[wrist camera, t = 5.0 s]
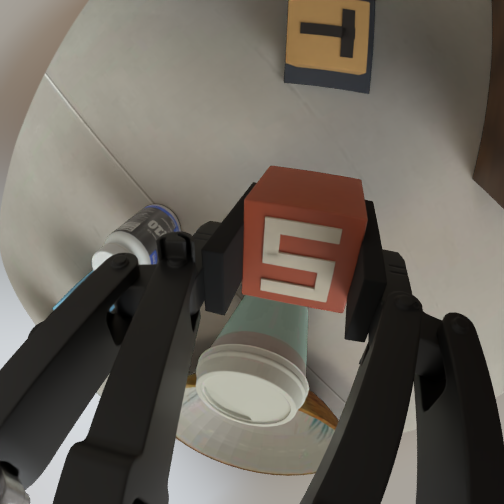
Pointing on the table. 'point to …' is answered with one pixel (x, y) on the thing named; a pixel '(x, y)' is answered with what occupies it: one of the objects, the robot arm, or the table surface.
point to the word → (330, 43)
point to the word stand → (494, 117)
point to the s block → (302, 237)
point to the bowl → (258, 436)
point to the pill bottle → (139, 235)
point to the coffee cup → (257, 364)
